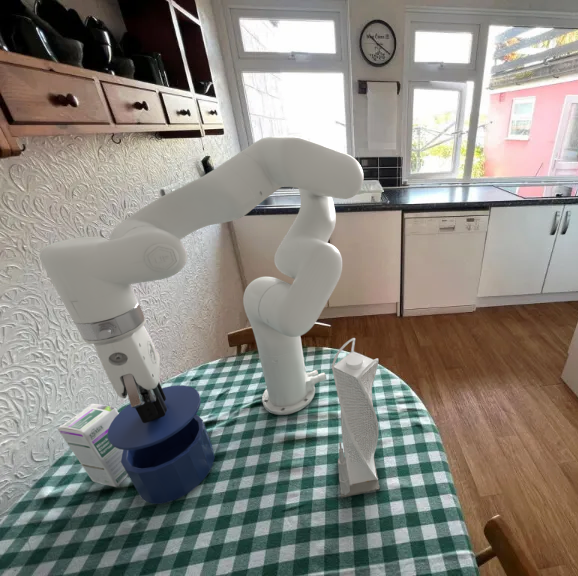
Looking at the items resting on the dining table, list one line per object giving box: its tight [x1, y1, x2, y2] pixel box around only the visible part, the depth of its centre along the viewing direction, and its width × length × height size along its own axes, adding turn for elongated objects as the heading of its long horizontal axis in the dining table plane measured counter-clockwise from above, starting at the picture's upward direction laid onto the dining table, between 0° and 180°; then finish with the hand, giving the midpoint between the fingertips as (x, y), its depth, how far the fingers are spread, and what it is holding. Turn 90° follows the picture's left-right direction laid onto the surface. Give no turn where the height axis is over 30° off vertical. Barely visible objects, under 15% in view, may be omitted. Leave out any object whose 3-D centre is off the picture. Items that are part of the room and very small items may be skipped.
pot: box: [121, 413, 215, 505], centre depth 59 cm, size 13×13×8 cm
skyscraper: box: [331, 337, 380, 499], centre depth 54 cm, size 8×8×28 cm
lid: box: [108, 384, 202, 450], centre depth 54 cm, size 14×14×7 cm
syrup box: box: [57, 403, 129, 488], centre depth 57 cm, size 6×6×14 cm
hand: (155, 409), depth 54 cm, fingers closed on lid, 3 cm apart
